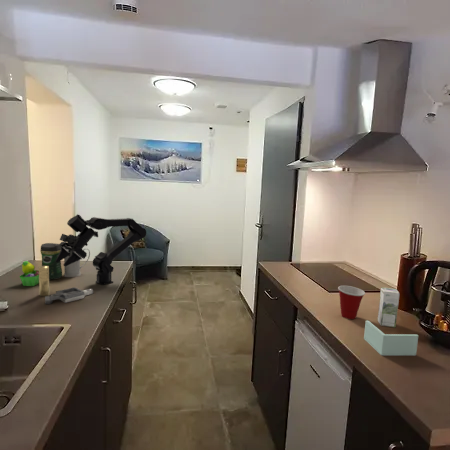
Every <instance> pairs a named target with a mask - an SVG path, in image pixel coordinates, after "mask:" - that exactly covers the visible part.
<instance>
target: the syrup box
mask: <svg viewBox="0 0 450 450" xmlns="http://www.w3.org/2000/svg"><path fill="white" fill-rule="evenodd" d="M379 294H380V296H379V303H378V313H377V322H378V324H379V325H380V327H389V328H396V326H397V317H398V310H399V302H400V301H399V300H400V292H399V291H398V289H396V288H389V287H381V288H380V293H379Z"/></svg>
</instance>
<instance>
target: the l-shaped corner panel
mask: <svg viewBox="0 0 450 450" xmlns="http://www.w3.org/2000/svg"><path fill="white" fill-rule="evenodd" d="M363 340H365V342H366V343H368V344H369V345H370V346H371V347H372V348H373V349H374V350H375V351H376V352H377V353H378V354H379V355H380V356H417V350H418V342H419V335H418V334H416V333H415V334H405V333H404V334H403V333H401V334H400V333H399V334H398V333H397V334H396V333H395V334H394V333H393V334H392V333H390V334H389V333H388V334H387V333H386V334H385V333H384V332H383V331H382V330H381V329H379V328H378V327H377V326H376V325H374V324H373V323H372V322H371V321H370V320H365V326H364V335H363Z"/></svg>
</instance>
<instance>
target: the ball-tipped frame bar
mask: <svg viewBox="0 0 450 450" xmlns="http://www.w3.org/2000/svg"><path fill="white" fill-rule="evenodd" d="M92 294H94V289H93V288H87V289H85V290H82V289H81V288H78V287H75V286H73V287H69V288H66V289H61V290H57V291H55V293H52V294H49V295H47V296H44V302H45V303H44V304H45V305H52V304H53V301H55V300H59V301H61V302H63V303H70V302H74V301H78V300H82V299H85V296H88V295H92Z"/></svg>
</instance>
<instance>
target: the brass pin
mask: <svg viewBox="0 0 450 450" xmlns="http://www.w3.org/2000/svg"><path fill="white" fill-rule="evenodd" d="M38 270H39V283H38V285H39V286H38V289H39V296H40V297H45V296H47V295H50V279H49V266H42V265H40V266H38Z"/></svg>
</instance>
